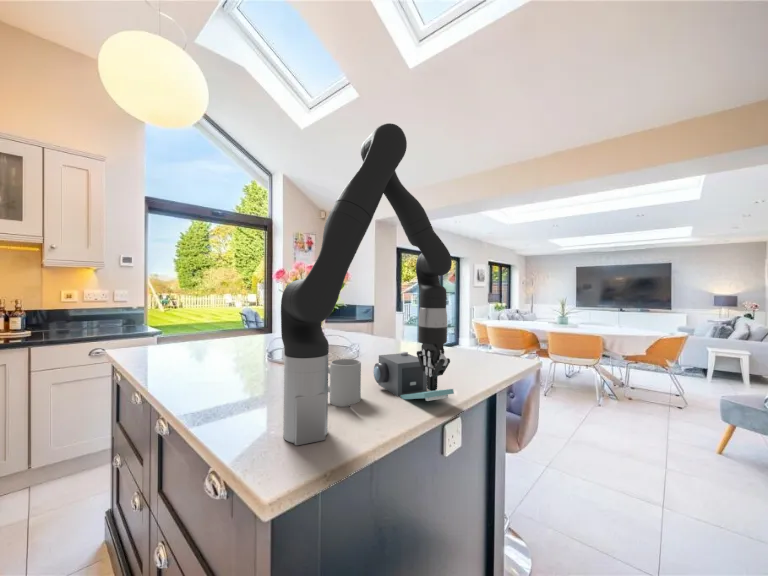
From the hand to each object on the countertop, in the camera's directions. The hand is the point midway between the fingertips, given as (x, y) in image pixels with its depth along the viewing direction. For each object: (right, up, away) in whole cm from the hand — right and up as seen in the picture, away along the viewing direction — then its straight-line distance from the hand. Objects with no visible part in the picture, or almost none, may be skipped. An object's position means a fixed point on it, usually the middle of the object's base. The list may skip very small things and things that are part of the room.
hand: (431, 389), depth 88 cm
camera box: (-9, -5, +14) cm, 17 cm away
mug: (-25, -5, +4) cm, 26 cm away
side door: (-4, -4, +8) cm, 10 cm away
